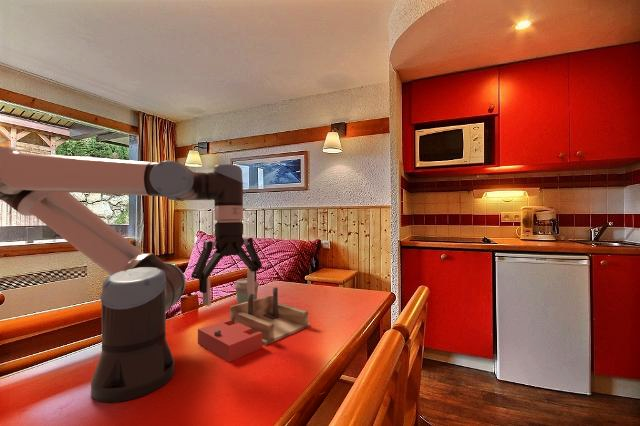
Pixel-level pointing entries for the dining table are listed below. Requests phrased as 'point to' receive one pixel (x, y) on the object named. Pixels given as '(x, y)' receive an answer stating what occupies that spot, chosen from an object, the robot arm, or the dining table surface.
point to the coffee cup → (244, 290)
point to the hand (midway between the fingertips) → (230, 298)
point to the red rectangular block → (229, 339)
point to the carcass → (269, 317)
